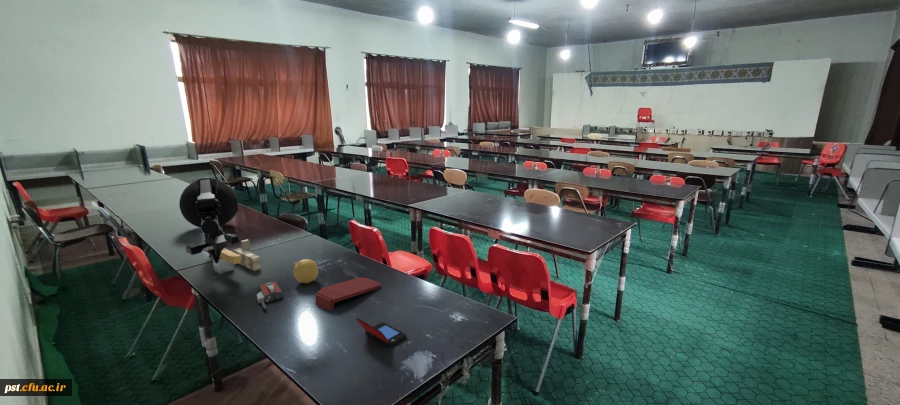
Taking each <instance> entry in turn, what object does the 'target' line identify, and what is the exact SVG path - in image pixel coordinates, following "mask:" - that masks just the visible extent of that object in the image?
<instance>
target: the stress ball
mask: <svg viewBox="0 0 900 405" xmlns="http://www.w3.org/2000/svg"><path fill="white" fill-rule="evenodd" d="M318 266H319V265H318V264H317V262H315V261H314V260H312V259H310V258H307V259H306V258H304V259H301V260H299V261H297V262H296V263H295V265H294V266H293V269H292V270H293V274H292V275H293V278H294V279H296V281H297V282H298V283H303V284H310V283H311V282H313V281H314V280H315V279H316V278H317V277H318V275H319V267H318Z"/></svg>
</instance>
